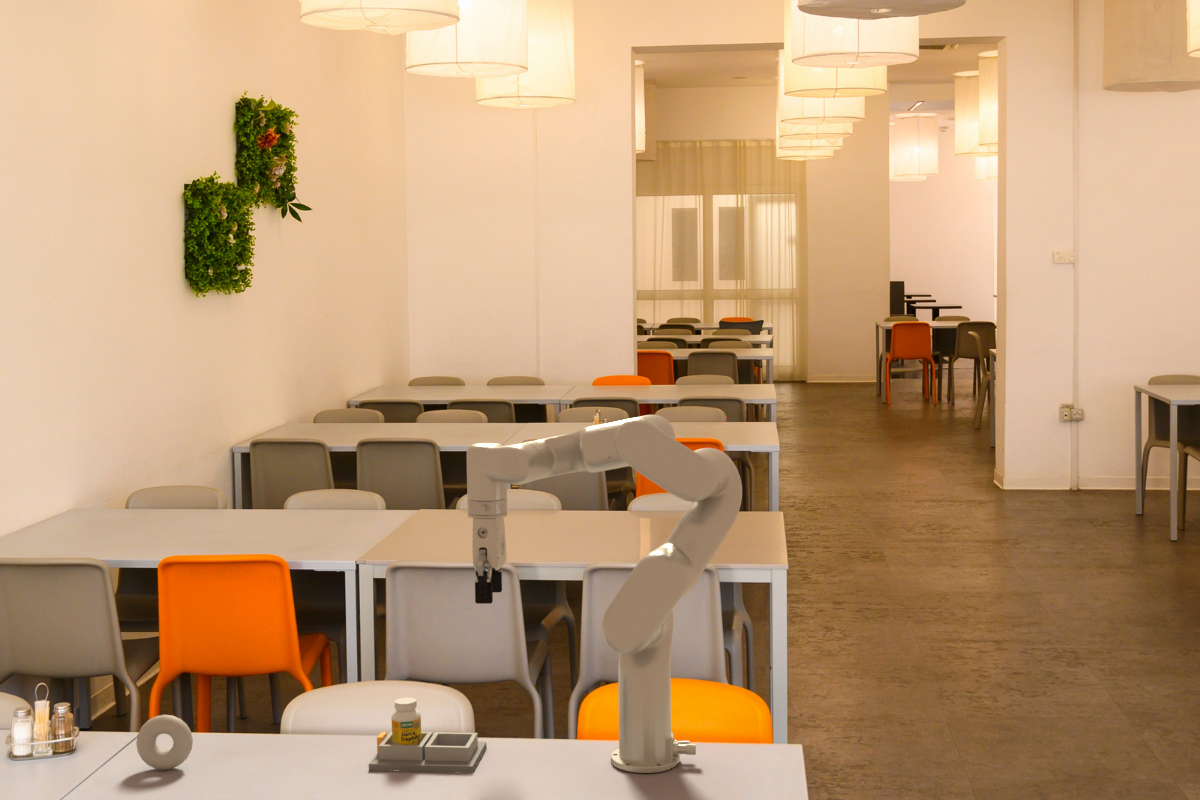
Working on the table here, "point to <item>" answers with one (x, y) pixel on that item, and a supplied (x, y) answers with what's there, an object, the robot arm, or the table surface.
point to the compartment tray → (430, 753)
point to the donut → (150, 749)
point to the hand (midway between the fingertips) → (488, 597)
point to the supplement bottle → (406, 723)
